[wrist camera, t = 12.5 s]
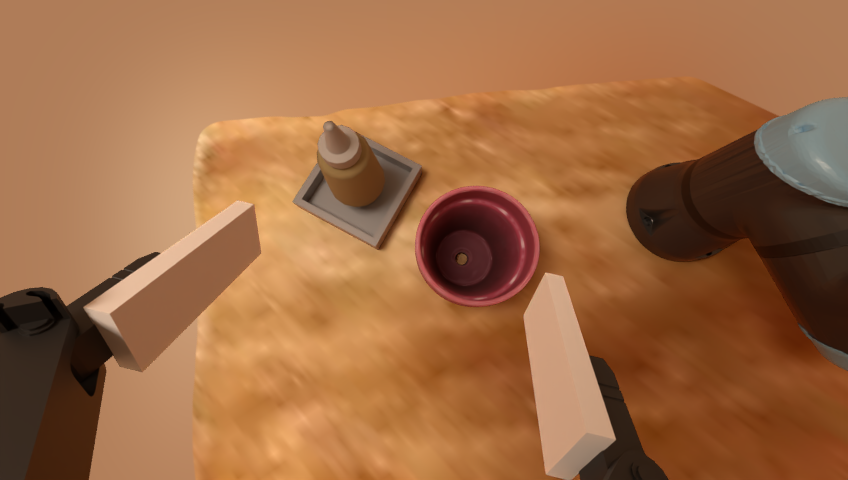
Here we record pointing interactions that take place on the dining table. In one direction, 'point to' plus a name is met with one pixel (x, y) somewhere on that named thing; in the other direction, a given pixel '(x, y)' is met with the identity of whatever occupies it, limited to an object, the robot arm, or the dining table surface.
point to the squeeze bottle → (349, 166)
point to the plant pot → (477, 246)
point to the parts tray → (363, 220)
